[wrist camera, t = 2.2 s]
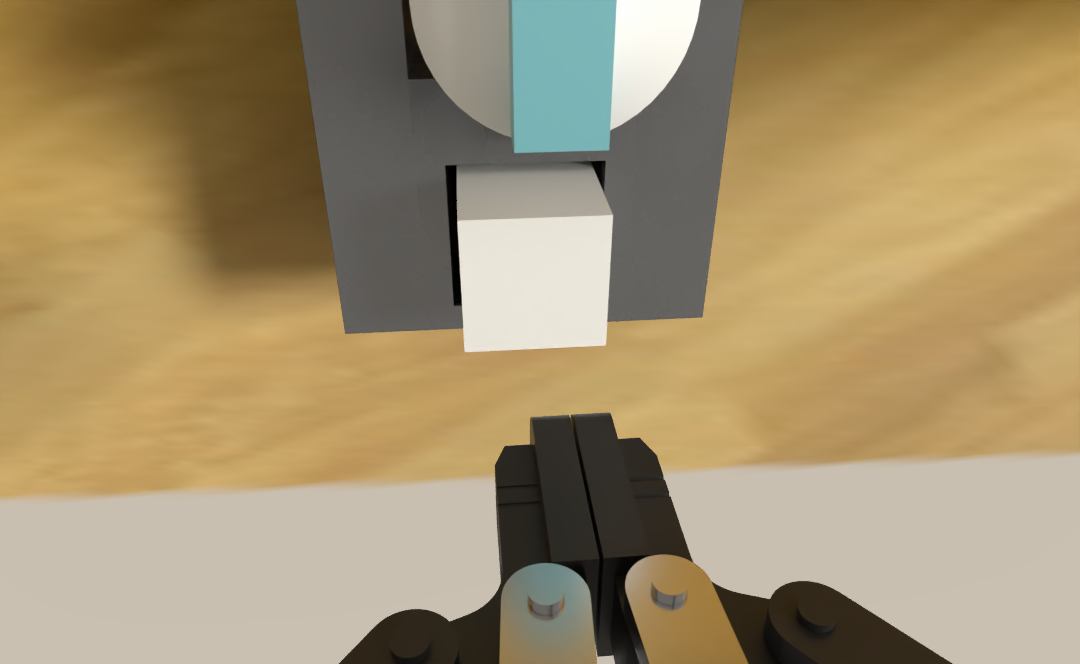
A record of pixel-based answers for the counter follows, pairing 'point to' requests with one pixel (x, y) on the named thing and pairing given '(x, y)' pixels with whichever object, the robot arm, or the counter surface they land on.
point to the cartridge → (553, 63)
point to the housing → (457, 139)
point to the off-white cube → (533, 255)
